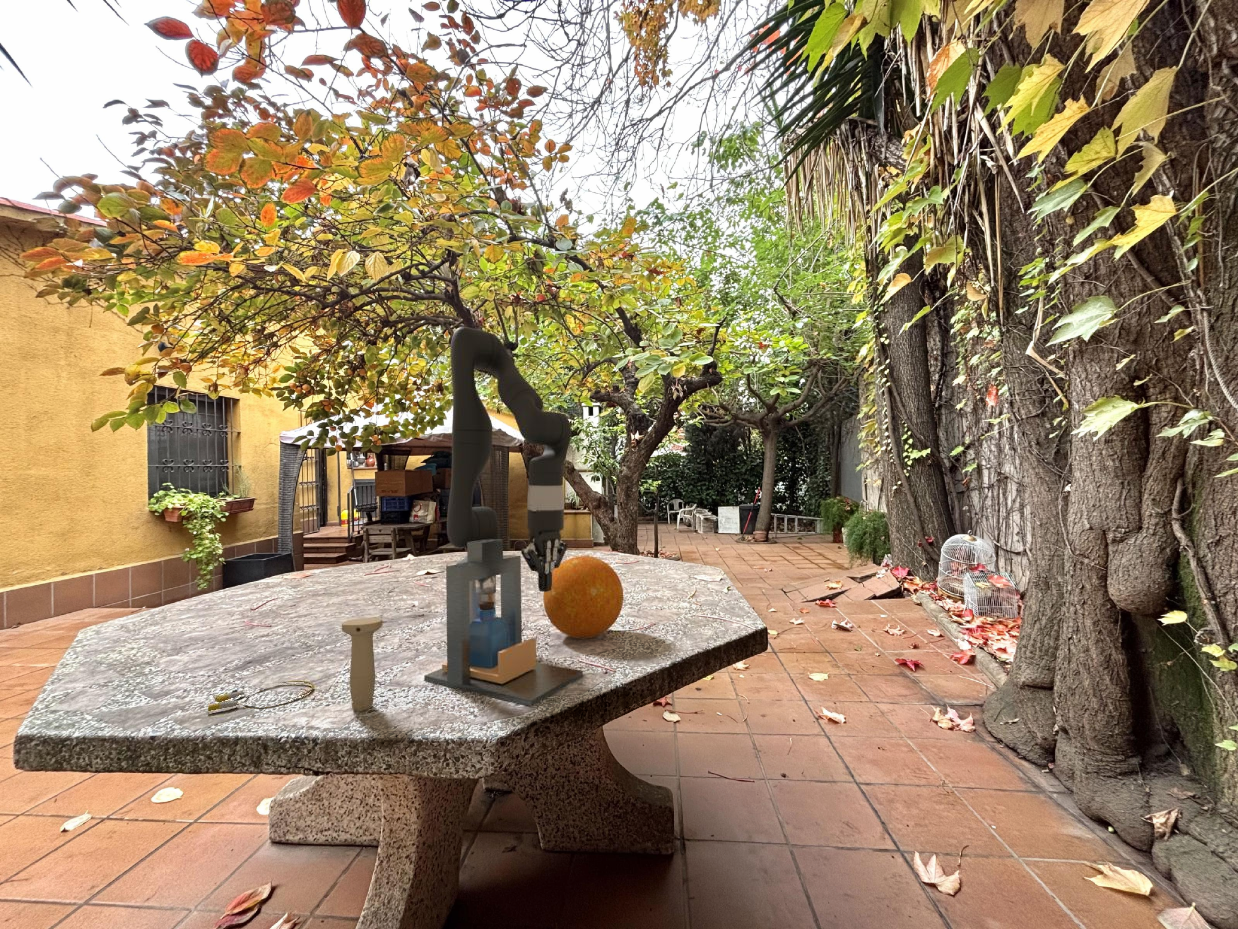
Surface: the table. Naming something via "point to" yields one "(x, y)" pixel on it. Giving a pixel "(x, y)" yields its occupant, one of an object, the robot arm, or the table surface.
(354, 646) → the handle
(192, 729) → the table surface
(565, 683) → the press frame
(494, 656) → the perfume bottle
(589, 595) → the decorative sphere
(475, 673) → the press bed carriage
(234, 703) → the jump rope
